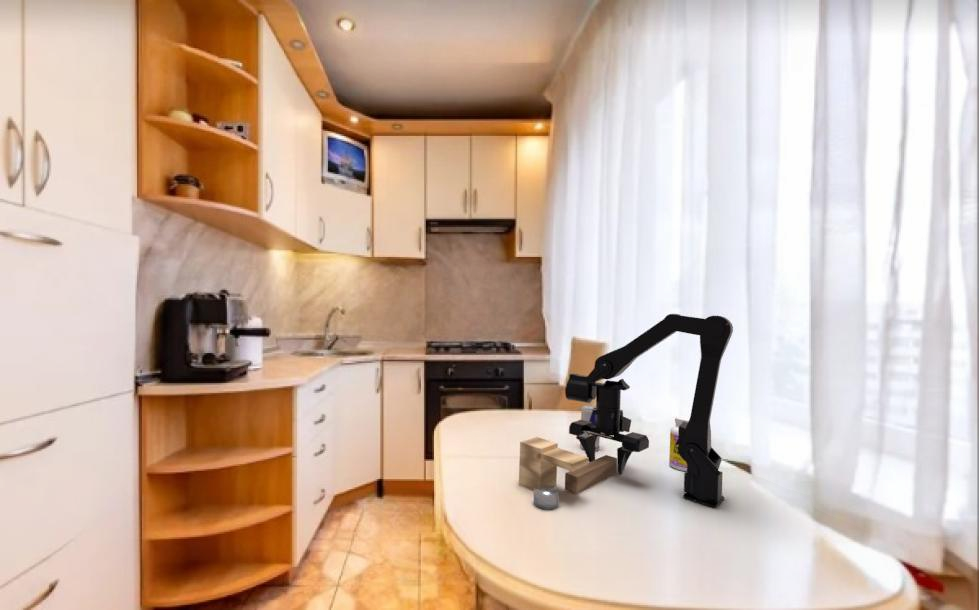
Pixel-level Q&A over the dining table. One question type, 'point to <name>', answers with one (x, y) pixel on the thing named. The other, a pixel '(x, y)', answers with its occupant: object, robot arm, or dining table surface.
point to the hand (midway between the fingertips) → (606, 470)
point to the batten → (590, 474)
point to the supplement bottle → (674, 457)
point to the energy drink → (589, 416)
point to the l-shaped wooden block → (545, 462)
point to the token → (546, 497)
